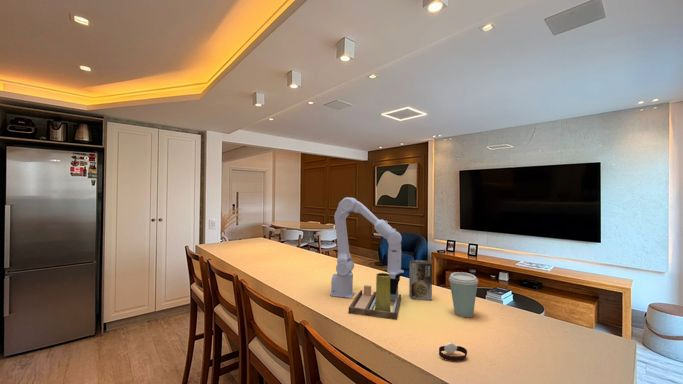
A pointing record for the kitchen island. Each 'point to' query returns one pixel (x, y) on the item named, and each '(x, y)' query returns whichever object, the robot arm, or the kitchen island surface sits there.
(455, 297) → the disposable coffee cup
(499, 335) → the kitchen island surface
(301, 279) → the kitchen island surface
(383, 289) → the vase
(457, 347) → the watch
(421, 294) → the coffee box
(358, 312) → the lane rack
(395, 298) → the tray
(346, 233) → the robot arm
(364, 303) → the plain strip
